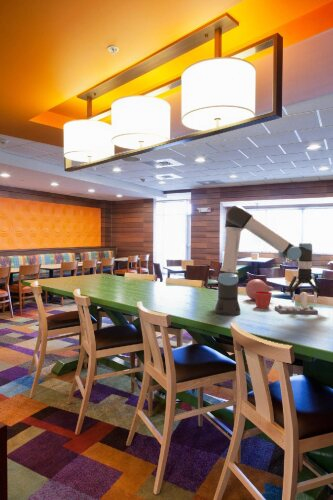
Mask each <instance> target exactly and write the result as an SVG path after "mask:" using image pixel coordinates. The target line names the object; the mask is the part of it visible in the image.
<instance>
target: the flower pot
mask: <svg viewBox="0 0 333 500" xmlns="http://www.w3.org/2000/svg"><path fill="white" fill-rule="evenodd" d="M254 293H255V300H254V301H255V305H256V307H257V308H259V309H268V308H270V304H271V300H272V295H273V294H272V291H268V292H265V291H256V292H254Z"/></svg>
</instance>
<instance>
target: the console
mask: <svg viewBox="0 0 333 500" xmlns="http://www.w3.org/2000/svg"><path fill="white" fill-rule="evenodd" d="M274 310H275V311H277V312H278V313H280V314H283V315H284V314H289V315H291V314H292V315H298V314H299V315H319V310H317V309H315V308H314V306H312V305H309V306H307V309H304V308H301V306H294V305H292V306H291V305H290V306H289V305H283V306H282V305H281V304H278V306H277V305H275V306H274Z"/></svg>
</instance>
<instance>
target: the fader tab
mask: <svg viewBox="0 0 333 500" xmlns="http://www.w3.org/2000/svg"><path fill="white" fill-rule="evenodd" d="M300 299H301V301H300V303H301V304H300V307H301V308H304V309H307V307H308V293H307V292H305V291H301V298H300Z"/></svg>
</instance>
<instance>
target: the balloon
mask: <svg viewBox="0 0 333 500" xmlns="http://www.w3.org/2000/svg"><path fill="white" fill-rule="evenodd" d="M273 290H275V288H274V287H273V286H272V285H268V284H266V283H265V282H264V280H262V279H257V278H256V279H255V278H254V279H251V280H250V281H248V282H247V284H246V286H245V293H246V296H247V297H248V298H249V299H250V300H253V301H256V300H255V293H254V292H256V291H265V292H272V291H273Z"/></svg>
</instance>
